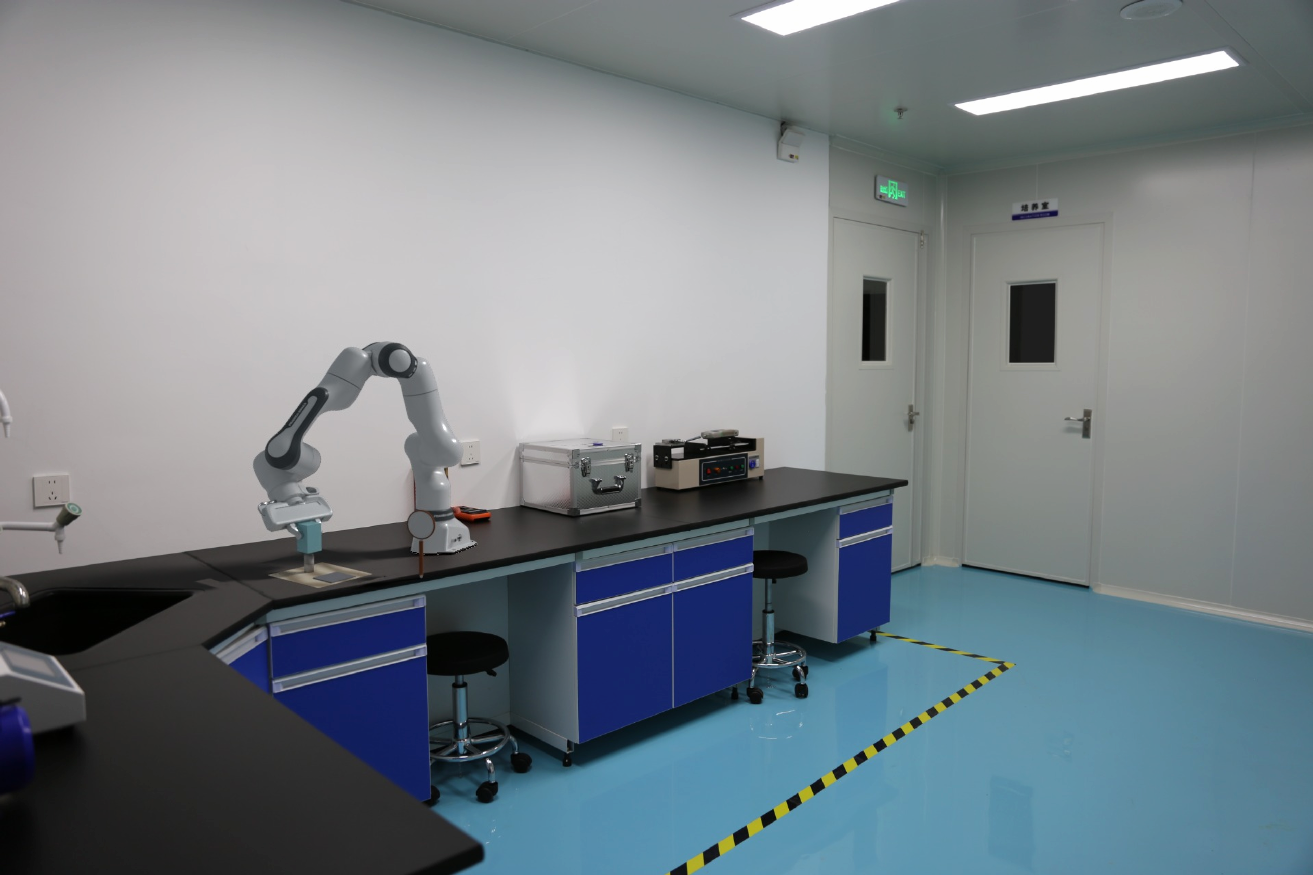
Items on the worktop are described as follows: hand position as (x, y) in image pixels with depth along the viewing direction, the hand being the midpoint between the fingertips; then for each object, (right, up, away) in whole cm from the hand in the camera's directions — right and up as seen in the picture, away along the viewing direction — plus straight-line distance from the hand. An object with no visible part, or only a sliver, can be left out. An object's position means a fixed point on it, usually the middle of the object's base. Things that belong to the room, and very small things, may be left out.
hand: (310, 536), depth 240 cm
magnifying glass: (+31, -13, +3) cm, 33 cm away
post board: (+3, -12, -1) cm, 13 cm away
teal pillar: (-1, -4, +1) cm, 4 cm away
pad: (+8, -11, -4) cm, 15 cm away
